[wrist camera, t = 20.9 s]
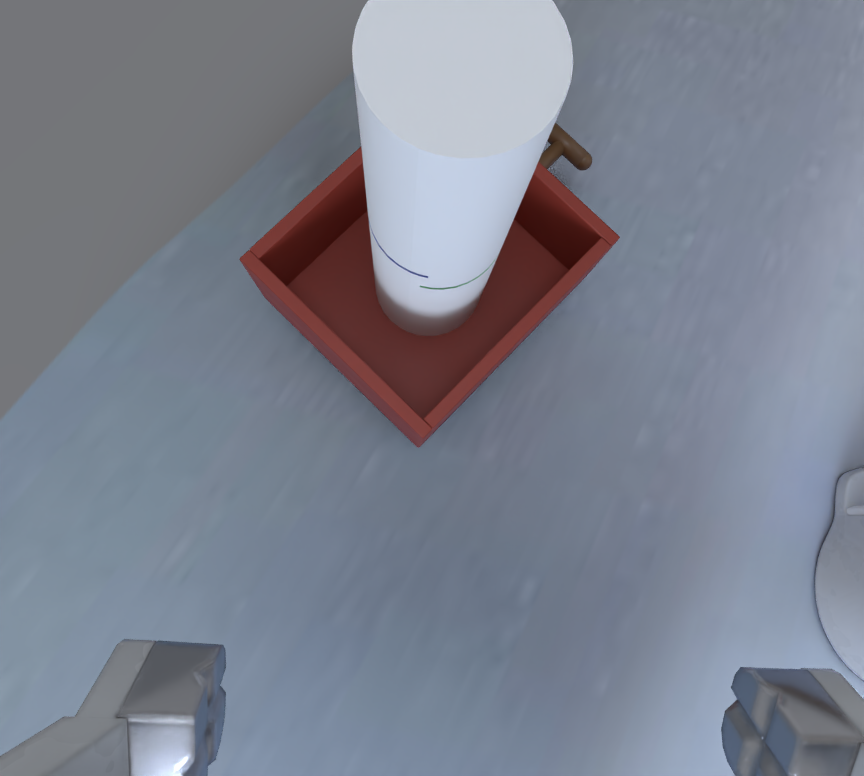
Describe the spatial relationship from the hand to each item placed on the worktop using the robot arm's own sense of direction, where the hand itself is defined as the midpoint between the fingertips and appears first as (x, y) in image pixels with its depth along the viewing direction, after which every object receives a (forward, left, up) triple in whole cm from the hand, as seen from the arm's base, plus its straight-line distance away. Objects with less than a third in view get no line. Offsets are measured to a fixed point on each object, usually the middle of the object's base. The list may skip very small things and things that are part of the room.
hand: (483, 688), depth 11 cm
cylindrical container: (-8, -15, -34) cm, 38 cm away
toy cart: (-11, -16, -38) cm, 43 cm away
